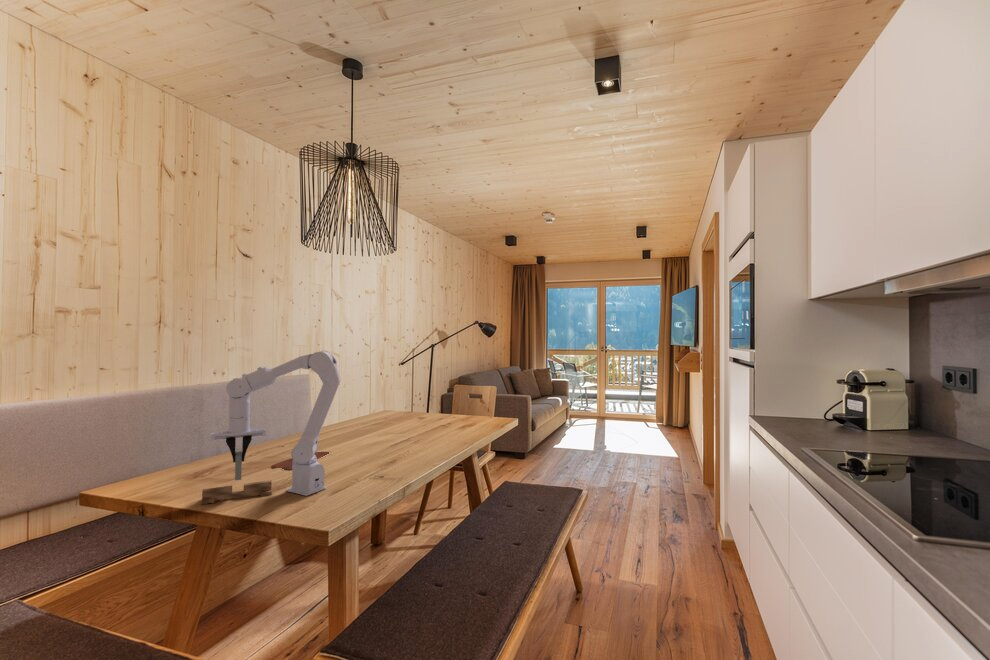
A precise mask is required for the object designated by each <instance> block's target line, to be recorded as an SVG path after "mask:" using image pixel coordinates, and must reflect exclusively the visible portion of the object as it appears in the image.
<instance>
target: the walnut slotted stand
mask: <svg viewBox="0 0 990 660" xmlns="http://www.w3.org/2000/svg"><path fill="white" fill-rule="evenodd" d="M272 483H273V482H272V480H271V479H270V480H264V481H262V480H261V481H256V482H250V483H249V482H248V483H243V490H237V491H233V485H225V486H219V487H218V486H217V487H209V488H202V490H201V491H202V492H201V505H202V504H205V505H208V504H207V503H212V504H214V503H215V502H218V501H217V500H220V501H225V500H224V499H227V500H233V499H232V498H234V499H240V498H239V497H241V498H245V497H246V498H247V496H248V497H253V496H260V497H266V496H272V495H273V493H272V485H273V484H272Z"/></svg>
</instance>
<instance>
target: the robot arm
mask: <svg viewBox="0 0 990 660" xmlns="http://www.w3.org/2000/svg"><path fill="white" fill-rule="evenodd" d="M338 367H339V366H338V360H337V359H336V358H335V357H334V355H333V353H331V352H330V351H328V350H321V351H315V352H313V353H310V354H306V355H300V356H298V357H296V358H294V359H291V360H289V361H287V362H285V363H282V364H280V365H277V366H275V367H268V366H265V367H263V366H259V367H257V368H256V369H257V370H254V371H252V372H249V373H243V374H241V376H240V377H236V378H233V379H232V380H229V382H228V383H226V387H225V390H226V393H227V395H229V397H228V401H229V402H228V430H224V431H218V432H217V431H216V432H211V434H210V435H211V436H210V440H211V441H216V440H224V439H225V443H226V445H227V446H228V448H229V450H230V453H231V457H232V463H235V456H236V439H238V438H242V446H241V447H242V448H241V449H242V462H244V461H245V458H246V457H245V456H246V454H247V450H248V448H249V446H250V444H251V442H252V440H253V438H252V437H260V436H261V437H265V436H266V434H267V432H266V431H267V430H266V428H251V423H250V421H251V393H252V392H256V391H258V390H261V389H262V388H267V387H268V386H270V385H274V383H275V382H276V380H277V378H278V377H282V376H284V375H286V374H290V373H292V372H295V371H297V370H299V369H303V370H310V369H311V370H313V372H314V373H316V374H317V375H318V377H319V378H320V381H321V382H322V386H321V388H320V391H319V393H318V396H317V399H316V401H315V402H314V405H313V407H312V410H311V413H310V416H309V418H308V420H307V423H306V425H305V428H304V431H303V432H302V434H301V436H300V437H299V441H298V442H297V444H295V445H294V447H293V448H292V449H291V452H290V455H291V456H290V457H291V458H292V459H293V461H292V462H293V463H292V470H291V471H292V474H291V476H292V477H291V487H287V488H286V489H285V492H288V493H293V494H297V495H302V496H306V497H307V496H310V495H312V494H315V493H317V492H321V491H323V490H325V489H327V486H325V467H324V466H323V464H321V463H319V462H318V460H317V458H316V456H315V455H314V454H315V453H316V451H318V448H319V444H318V443H319V442H318V441H319V438H320V436H321V431H322V429H323V427H324V423H325V421H326V418H327V416H328V413H329V411H330V409H331V406H332V403H333V401H334V399H335V395H336V394H337V390H338V389H339V385H340V383H341V377H340V373H339V368H338Z"/></svg>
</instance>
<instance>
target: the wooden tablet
mask: <svg viewBox="0 0 990 660" xmlns="http://www.w3.org/2000/svg"><path fill="white" fill-rule="evenodd" d="M329 452H330V451H321V452H316V453H315V454H314V455H315V456H316V458H317V459H319V458H321V457H323V456H325V455H327V454H329ZM325 457H326V456H325ZM323 458H324V457H323ZM321 459H322V458H321ZM319 460H320V459H319ZM292 461H293V459H292V457H291V458H289V459H286V460H285V459H284V460H282V461H279V462H277V463H275V464H272V465H271V467H270V468H271V469H274V468H282V469H284V470H283V471H292V463H293V462H292ZM282 469H281V470H282Z"/></svg>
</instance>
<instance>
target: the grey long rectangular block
mask: <svg viewBox="0 0 990 660" xmlns="http://www.w3.org/2000/svg"><path fill="white" fill-rule="evenodd" d="M235 451H236V456H235V462H234V463H235V466H234V468H235V469H234V470H235V472H234V481H242V471H243V461H242V448H235Z"/></svg>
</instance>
